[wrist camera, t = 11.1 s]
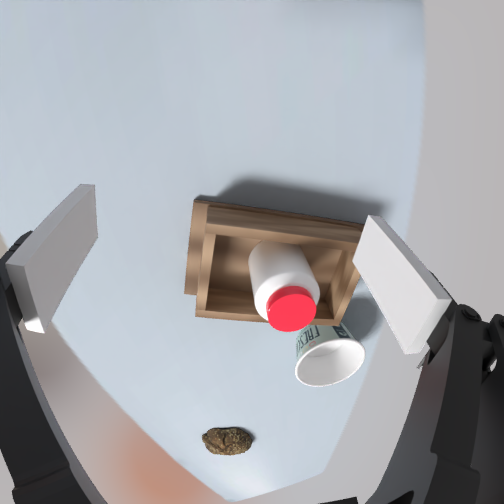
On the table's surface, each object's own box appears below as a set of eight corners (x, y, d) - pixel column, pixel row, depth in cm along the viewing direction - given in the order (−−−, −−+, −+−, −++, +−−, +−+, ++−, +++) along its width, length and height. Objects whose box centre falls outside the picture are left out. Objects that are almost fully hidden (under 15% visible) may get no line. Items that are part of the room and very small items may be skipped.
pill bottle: (312, 268, 45) (335, 319, 35) (265, 292, 46) (276, 348, 37) (288, 225, 41) (310, 272, 32) (237, 254, 43) (243, 307, 33)
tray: (194, 199, 39) (190, 218, 34) (366, 224, 43) (384, 245, 38) (184, 289, 46) (181, 316, 41) (336, 302, 50) (348, 327, 45)
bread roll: (254, 443, 74) (255, 459, 69) (208, 448, 74) (209, 464, 69) (245, 422, 67) (247, 440, 63) (194, 428, 67) (194, 446, 63)
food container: (332, 363, 58) (341, 389, 53) (277, 355, 55) (283, 383, 49) (365, 318, 53) (379, 344, 47) (307, 305, 50) (317, 334, 44)
